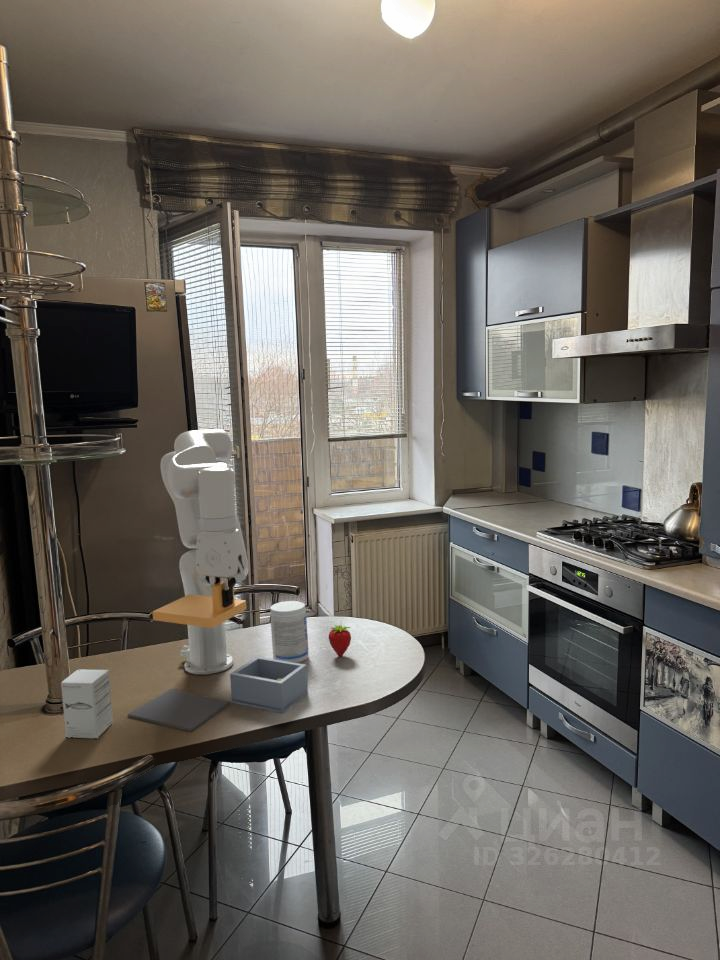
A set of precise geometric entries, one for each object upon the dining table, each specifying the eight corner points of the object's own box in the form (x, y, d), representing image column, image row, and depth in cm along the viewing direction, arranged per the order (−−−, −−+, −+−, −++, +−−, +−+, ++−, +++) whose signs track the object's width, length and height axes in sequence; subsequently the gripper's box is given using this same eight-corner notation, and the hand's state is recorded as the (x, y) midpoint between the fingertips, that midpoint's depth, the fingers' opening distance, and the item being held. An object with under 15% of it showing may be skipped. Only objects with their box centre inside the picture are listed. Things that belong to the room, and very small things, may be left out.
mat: (127, 716, 153) (127, 714, 153) (170, 691, 166) (170, 688, 166) (190, 731, 145) (190, 728, 145) (230, 703, 158) (230, 701, 158)
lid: (153, 620, 151) (150, 585, 150) (190, 602, 163) (187, 569, 162) (212, 628, 145) (210, 591, 144) (246, 608, 157) (244, 575, 155)
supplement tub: (315, 659, 182) (312, 606, 180) (283, 668, 177) (280, 614, 175) (297, 649, 190) (295, 598, 188) (267, 657, 185) (263, 605, 183)
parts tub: (231, 702, 158) (230, 673, 157) (258, 683, 168) (257, 656, 167) (282, 713, 152) (281, 683, 151) (307, 692, 162) (306, 664, 161)
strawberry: (346, 649, 188) (345, 614, 186) (355, 659, 181) (354, 623, 179) (326, 653, 186) (324, 618, 184) (334, 663, 179) (332, 626, 177)
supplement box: (64, 738, 145) (59, 682, 143) (83, 721, 152) (78, 667, 150) (97, 740, 143) (91, 683, 142) (114, 722, 151) (109, 668, 149)
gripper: (178, 525, 148) (184, 607, 151) (238, 529, 142) (244, 614, 144) (199, 518, 155) (205, 596, 157) (258, 522, 149) (263, 603, 151)
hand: (223, 604), depth 151 cm, fingers closed on lid, 1 cm apart
